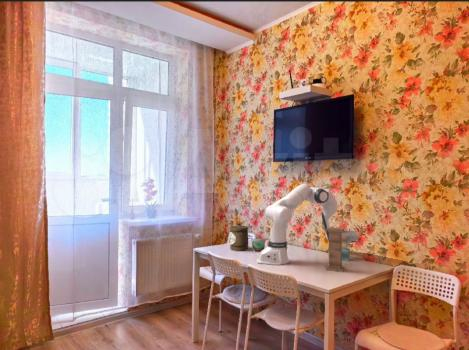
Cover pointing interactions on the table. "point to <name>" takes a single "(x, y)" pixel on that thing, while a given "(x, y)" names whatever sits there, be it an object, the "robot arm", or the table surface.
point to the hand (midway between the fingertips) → (342, 229)
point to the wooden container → (239, 237)
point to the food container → (258, 244)
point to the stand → (335, 249)
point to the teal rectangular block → (345, 248)
